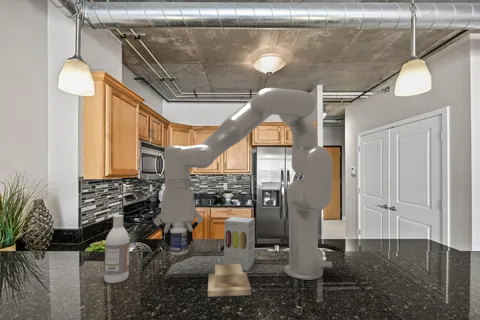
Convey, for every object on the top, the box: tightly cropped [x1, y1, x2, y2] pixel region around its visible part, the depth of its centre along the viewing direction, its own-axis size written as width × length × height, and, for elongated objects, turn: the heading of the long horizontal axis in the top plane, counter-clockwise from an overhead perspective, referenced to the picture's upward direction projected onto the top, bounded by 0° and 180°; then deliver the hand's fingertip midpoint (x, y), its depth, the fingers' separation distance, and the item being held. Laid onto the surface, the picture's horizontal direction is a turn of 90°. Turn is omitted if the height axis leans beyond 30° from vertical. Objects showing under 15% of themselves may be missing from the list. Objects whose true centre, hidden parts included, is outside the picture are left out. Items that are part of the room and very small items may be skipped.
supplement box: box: [223, 216, 256, 272], centre depth 94 cm, size 10×9×17 cm
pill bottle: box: [169, 222, 189, 256], centre depth 78 cm, size 5×5×10 cm
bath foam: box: [103, 214, 131, 284], centre depth 81 cm, size 7×7×20 cm
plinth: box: [207, 263, 252, 298], centre depth 76 cm, size 12×12×5 cm
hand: (179, 243), depth 78 cm, fingers closed on pill bottle, 5 cm apart
